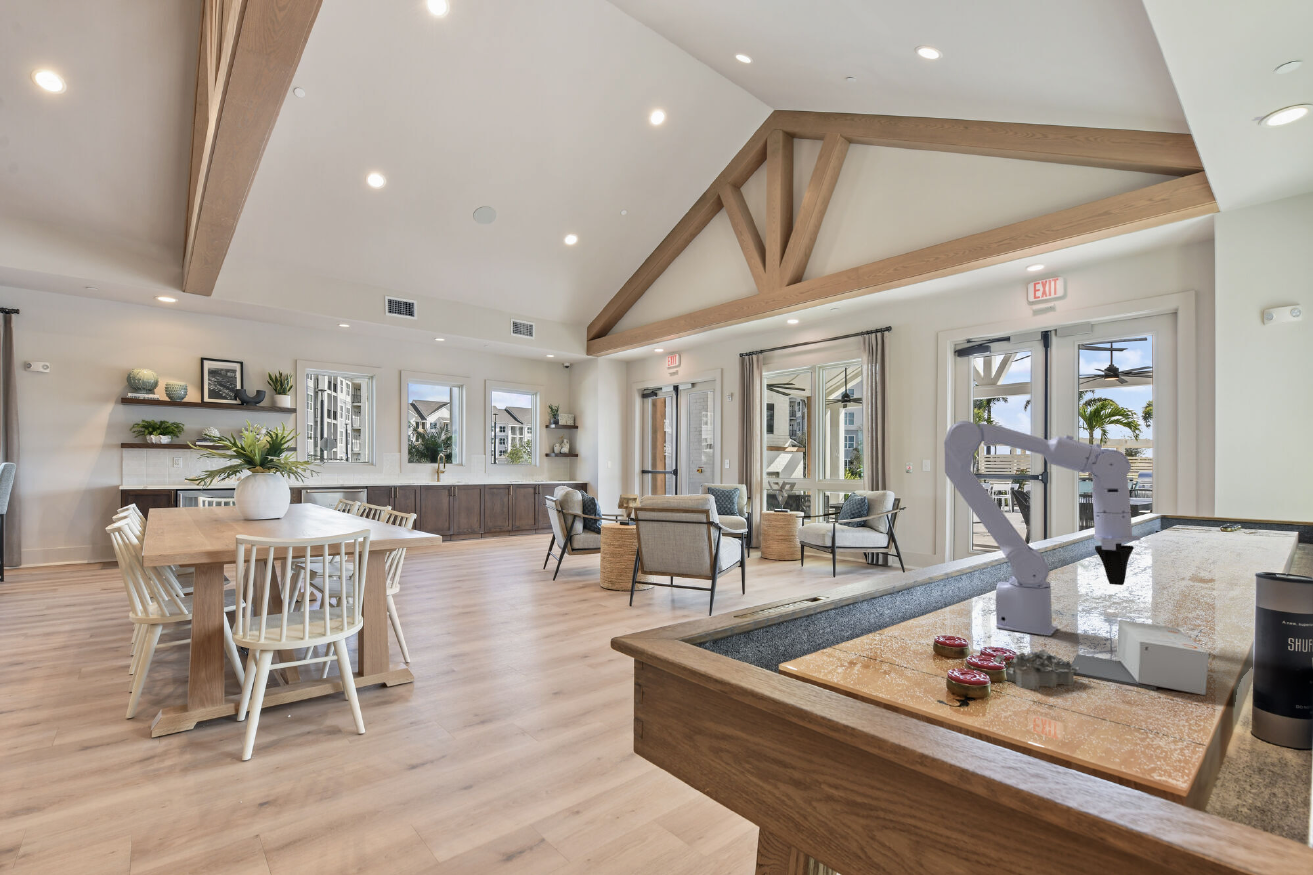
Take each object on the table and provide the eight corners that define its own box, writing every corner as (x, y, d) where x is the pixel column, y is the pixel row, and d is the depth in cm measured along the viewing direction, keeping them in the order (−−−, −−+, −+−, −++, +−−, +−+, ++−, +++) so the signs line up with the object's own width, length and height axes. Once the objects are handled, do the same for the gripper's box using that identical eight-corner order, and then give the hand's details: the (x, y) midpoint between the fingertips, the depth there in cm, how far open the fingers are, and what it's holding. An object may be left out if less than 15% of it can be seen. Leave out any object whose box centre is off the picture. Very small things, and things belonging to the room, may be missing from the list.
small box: (1115, 656, 102) (1136, 683, 91) (1118, 618, 102) (1139, 640, 91) (1177, 667, 99) (1206, 696, 87) (1179, 628, 99) (1209, 652, 87)
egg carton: (1025, 692, 90) (1024, 665, 90) (989, 675, 97) (988, 650, 97) (1085, 686, 92) (1083, 659, 92) (1045, 670, 99) (1044, 645, 99)
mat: (1066, 673, 97) (1066, 670, 97) (1077, 656, 105) (1077, 654, 105) (1156, 689, 90) (1156, 687, 90) (1159, 670, 98) (1159, 667, 98)
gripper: (1134, 515, 108) (1139, 592, 108) (1142, 510, 119) (1147, 580, 118) (1086, 514, 113) (1090, 588, 113) (1098, 509, 124) (1102, 576, 123)
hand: (1116, 584), depth 116 cm, fingers closed
